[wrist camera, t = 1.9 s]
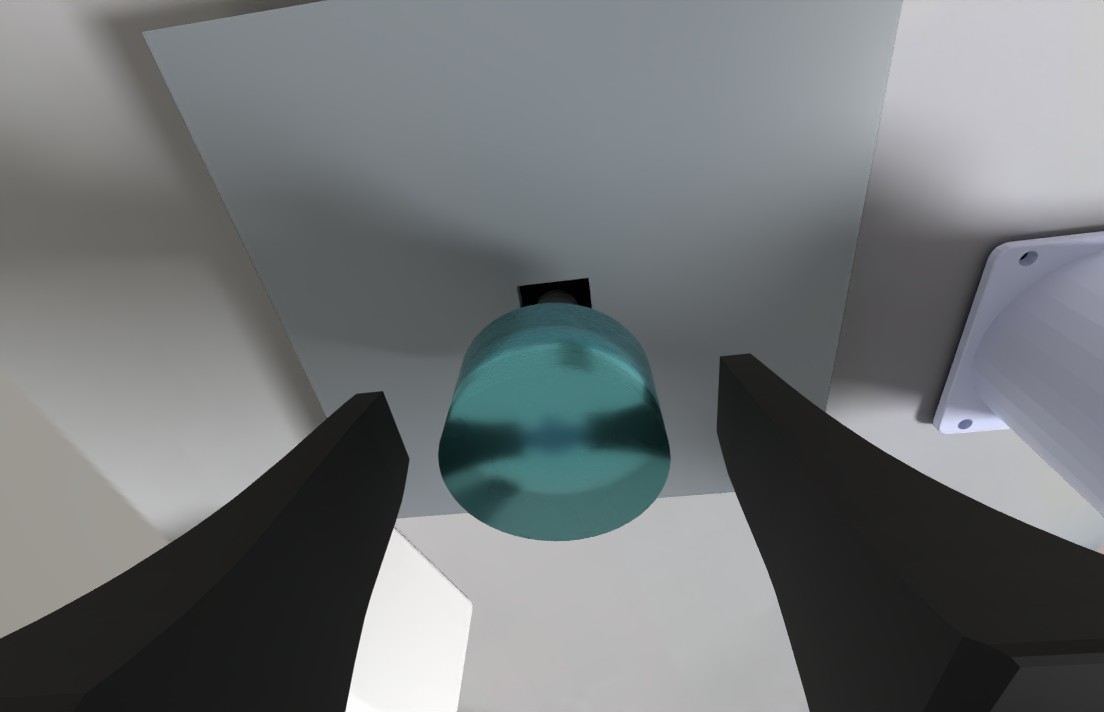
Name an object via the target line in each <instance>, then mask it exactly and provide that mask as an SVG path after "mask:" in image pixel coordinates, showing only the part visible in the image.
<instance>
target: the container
mask: <svg viewBox="0 0 1104 712" xmlns="http://www.w3.org/2000/svg"><path fill="white" fill-rule="evenodd" d="M472 608H473V607H472V603H471V601H470V600H469V599H468V598H467V597H466V596H465V595H464V594H462V593H461V592H460V591H459V590H458V589H457V588H456V587H455V586H454V585H453V584H452V583H451V582H450V581H449V580H448V579H447V578H446V577H445V576H444V575H443V574H442V573H441V572H440V571H439V570H438V569H437V568H435V567H434V566H433V565H432V564H431V563H430V562H429V561H428V560H427V559H426V558H425V557H424V556H423V555H422V554H421V553H420V552H419V551H418V550H417V549H416V548H415V547H414V546H413V545H412V544H411V543H410V542H408V541H407V540H406V539H405V538H404V537H403V536H402V535H401V534H400V533H399V532H398V531H397V530H396V529H395V528H393V531H392V535H391V538H390V541H389V544H388V547H387V550H386V553H385V556H384V559H383V562H382V565H381V568H380V571H379V574H378V577H377V580H376V583H375V586H374V589H373V592H372V595H371V598H370V602H369V605H368V609H367V612H366V616H365V620H364V624H363V629H362V633H361V638H360V642H359V647H358V651H357V656H356V660H355V665H354V670H353V675H352V680H351V686H350V691H349V696H348V701H347V706H346V711H345V712H457V707H458V701H459V694H460V688H461V681H462V674H463V668H464V661H465V654H466V648H467V641H468V634H469V628H470V621H471V614H472Z"/></svg>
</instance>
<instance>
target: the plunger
mask: <svg viewBox="0 0 1104 712" xmlns="http://www.w3.org/2000/svg"><path fill="white" fill-rule="evenodd" d="M670 460H671V455H670V446H669V442H668V438H667V433H666V429H665V425H664V421H663V417H662V413H661V408H660V404H659V400H658V396H657V392H656V388H655V383H654V379H653V375H652V371H651V367H650V364H649V360H648V357H647V355H646V353H645V351H644V349H643V347H642V346H641V344H640V343H639V341H638V340H637V338H636V337H635V336H634V335H633V334H632V333H631V332H630V331H629V330H628V329H627V328H626V327H624V326H623V325H622V324H621V323H619V322H618V321H616V320H615V319H613V318H611V317H610V316H608V315H606V314H604V313H601V312H599V311H597V310H594V309H591V308H588V307H584V306H580V305H577V302H576V300H575V298H574V297H573V296H572V295H571V294H569V293H568V292H565V291H562V290H552V291H549V292H547V293H545V294H544V295H542V296H541V297H540V299H539V300H538V303H537V304H536V305H530V306H526V307H523V308H519V309H516V310H513V311H511V312H509V313H507V314H504V315H502V316H501V317H499V318H497V319H496V320H494V321H492V322H491V323H490V324H489V325H487V326H486V327H485V328H484V329H483V330H482V331H481V332H480V333H479V334H478V335H477V336H476V337H475V338H474V340H473V341H472V343H471V344H470V346H469V347H468V349H467V351H466V353H465V355H464V358H463V361H462V365H461V368H460V372H459V375H458V379H457V382H456V386H455V389H454V393H453V397H452V400H451V404H450V407H449V411H448V414H447V418H446V421H445V425H444V428H443V432H442V436H441V439H440V443H439V450H438V461H439V468H440V472H441V476H442V478H443V481H444V483H445V485H446V487H447V489H448V490H449V492H450V493H451V495H452V496H453V498H454V499H455V500H456V501H457V502H458V503H459V505H460V506H462V507H463V508H464V509H465V510H466V511H467V512H468V513H470V514H471V515H472V516H474V517H475V518H477V519H478V520H480V521H481V522H483V523H485V524H487V525H489V526H490V527H493V528H495V529H497V530H500V531H502V532H505V533H508V534H511V535H514V536H519V537H523V538H528V539H535V540H544V541H569V540H578V539H584V538H589V537H594V536H597V535H601V534H604V533H607V532H610V531H612V530H614V529H617V528H619V527H621V526H623V525H625V524H627V523H629V522H630V521H632V520H633V519H635V518H636V517H638V516H639V515H640V514H642V513H643V512H644V511H645V510H646V509H647V508H648V507H649V506H650V505H651V504H652V503H653V502H654V501H655V500H656V498H657V497H658V495H659V494H660V492H661V491H662V489H663V487H664V485H665V483H666V480H667V478H668V474H669V470H670Z"/></svg>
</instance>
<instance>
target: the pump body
mask: <svg viewBox="0 0 1104 712" xmlns="http://www.w3.org/2000/svg"><path fill="white" fill-rule="evenodd" d="M902 2H903V0H325V1H319V2H313V3H307V4H302V5H296V6H290V7H284V8H278V9H272V10H266V11H261V12H255V13H249V14H243V15H237V16H231V17H226V18H220V19H214V20H208V21H202V22H196V23H190V24H185V25H179V26H173V27H167V28H161V29H155V30H150V31H144V32H142V35H143V37H144V39H145V41H146V43H147V45H148V47H149V49H150V51H151V53H152V55H153V57H154V59H155V62H156V64H157V66H158V68H159V70H160V72H161V74H162V76H163V78H164V80H165V82H166V84H167V87H168V89H169V91H170V93H171V95H172V97H173V99H174V101H175V103H176V105H177V107H178V109H179V111H180V114H181V116H182V118H183V120H184V122H185V124H186V126H187V128H188V130H189V132H190V134H191V136H192V139H193V141H194V143H195V145H196V147H197V149H198V151H199V153H200V155H201V157H202V159H203V161H204V164H205V166H206V168H207V170H208V172H209V174H210V176H211V178H212V180H213V182H214V184H215V186H216V188H217V191H218V193H219V195H220V197H221V199H222V201H223V203H224V205H225V207H226V209H227V211H228V213H229V216H230V218H231V220H232V222H233V224H234V226H235V228H236V230H237V232H238V234H239V236H240V238H241V241H242V243H243V245H244V247H245V249H246V251H247V253H248V255H249V257H250V259H251V261H252V263H253V265H254V268H255V270H256V272H257V274H258V276H259V278H260V280H261V282H262V284H263V286H264V288H265V290H266V293H267V295H268V297H269V299H270V301H271V303H272V305H273V307H274V309H275V311H276V313H277V315H278V317H279V320H280V322H281V324H282V326H283V328H284V330H285V332H286V334H287V336H288V338H289V340H290V342H291V345H292V347H293V349H294V351H295V353H296V355H297V357H298V359H299V361H300V363H301V365H302V367H303V370H304V372H305V374H306V376H307V378H308V380H309V382H310V384H311V386H312V388H313V390H314V392H315V394H316V397H317V399H318V401H319V403H320V405H321V407H322V409H323V411H324V413H325V415H326V417H327V418H328V417H329V416H330V415H332V414H333V413H334V412H335V411H336V410H337V409H338V408H339V407H341V406H342V405H343V404H344V403H345V402H346V401H348V400H349V399H350V398H351V397H353V396H354V395H355V394H358V393H368V392H378V391H383V392H384V395H385V397H386V400H387V402H388V405H389V407H390V410H391V413H392V415H393V418H394V420H395V423H396V425H397V428H398V430H399V433H400V436H401V438H402V441H403V443H404V446H405V448H406V451H407V453H408V456H409V459H410V460H409V466H408V472H407V479H406V484H405V489H404V494H403V499H402V503H401V506H400V510H399V513H398V516H397V518H408V517H421V516H433V515H446V514H459V513H468V512H467V511H466V510H465V509H464V508H463V507H462V506H460V505H459V503H458V502H457V501H456V500H455V499H454V498H453V496H452V495H451V493H450V492H449V490H448V489H447V487H446V485H445V483H444V481H443V478H442V476H441V472H440V468H439V461H438V450H439V443H440V439H441V436H442V432H443V428H444V425H445V421H446V418H447V414H448V411H449V407H450V404H451V400H452V397H453V393H454V389H455V386H456V382H457V379H458V375H459V372H460V368H461V365H462V361H463V358H464V355H465V353H466V351H467V349H468V347H469V346H470V344H471V343H472V341H473V340H474V338H475V337H476V336H477V335H478V334H479V333H480V332H481V331H482V330H483V329H484V328H485V327H486V326H487V325H489V324H490V323H491V322H492V321H494V320H496V319H497V318H499V317H501V316H502V315H504V314H507V313H509V312H511V311H513V310H516V309H519V308H523V304H522V298H521V293H520V288H519V286H522V285H531V284H539V283H548V282H557V281H565V280H574V279H582V278H589V285H590V295H591V304H592V309H594V310H597V311H599V312H601V313H604V314H606V315H608V316H610V317H611V318H613V319H615V320H616V321H618V322H619V323H621V324H622V325H623V326H624V327H626V328H627V329H628V330H629V331H630V332H631V333H632V334H633V335H634V336H635V337H636V338H637V340H638V341H639V343H640V344H641V346H642V347H643V349H644V351H645V353H646V355H647V357H648V360H649V364H650V367H651V371H652V375H653V379H654V383H655V388H656V392H657V396H658V400H659V404H660V408H661V413H662V417H663V421H664V425H665V429H666V433H667V438H668V442H669V446H670V455H671V460H670V470H669V474H668V478H667V480H666V483H665V485H664V487H663V489H662V491H661V492H660V494H659V495H658V497H657V498H663V497H676V496H688V495H701V494H714V493H727V492H735V490H734V488H733V485H732V483H731V480H730V478H729V475H728V473H727V469H726V465H725V462H724V458H723V455H722V451H721V447H720V443H719V439H718V435H717V431H716V430H717V408H718V386H719V364H720V356H728V355H738V354H748V353H751V354H752V355H753V356H754V357H756V358H757V359H758V360H759V361H761V362H762V363H763V364H764V365H765V366H767V367H768V368H769V369H770V370H772V371H773V372H774V373H775V374H776V375H778V376H779V377H780V378H781V379H783V380H784V381H785V382H786V383H788V384H789V385H790V386H791V387H793V388H794V389H795V390H796V391H798V392H799V393H800V394H802V395H803V396H804V397H805V398H807V399H808V400H809V401H811V402H812V403H813V404H815V405H816V406H817V407H819V408H820V409H821V410H823V411H824V412H825V409H826V404H827V399H828V394H829V388H830V383H831V378H832V372H833V367H834V362H835V356H836V351H837V346H838V341H839V335H840V330H841V325H842V319H843V314H844V309H845V303H846V298H847V293H848V288H849V282H850V277H851V272H852V266H853V261H854V256H855V251H856V245H857V240H858V235H859V229H860V224H861V219H862V213H863V208H864V203H865V198H866V192H867V187H868V182H869V176H870V171H871V166H872V161H873V155H874V150H875V145H876V139H877V134H878V129H879V123H880V118H881V113H882V108H883V102H884V97H885V92H886V86H887V81H888V76H889V70H890V65H891V60H892V55H893V49H894V44H895V39H896V33H897V28H898V23H899V18H900V12H901V7H902Z"/></svg>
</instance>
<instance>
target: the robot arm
mask: <svg viewBox="0 0 1104 712" xmlns="http://www.w3.org/2000/svg"><path fill="white" fill-rule="evenodd" d="M1027 252H1029V253H1028V254H1027V256H1026V257H1025V258H1024V259H1022V260H1020V258H1021V257H1022V256H1023V255H1024V254H1025V253H1027ZM933 425H934V427H935V428H936V429H937V430H938V431H939V432H940V433H942V434H954V433H966V432H978V431H990V430H1001V429H1012V430H1013V431H1014V432H1015V433H1016V434H1017V435H1018V436H1019V437H1020V438H1021V439H1022V440H1023V441H1024V442H1025V443H1026V444H1028V445H1029V446H1030V447H1031V448H1032V449H1033V450H1034V451H1035V452H1036V453H1037V454H1038V455H1039V456H1040V457H1041V458H1042V459H1043V460H1044V461H1045V462H1046V463H1048V464H1049V465H1050V466H1051V467H1052V468H1053V469H1054V470H1055V471H1056V472H1057V473H1058V474H1059V475H1060V476H1061V477H1062V478H1063V479H1064V480H1065V481H1066V482H1068V483H1069V484H1070V485H1071V486H1072V487H1073V488H1074V489H1075V490H1076V491H1077V492H1078V493H1079V494H1080V495H1081V496H1082V497H1083V498H1084V499H1085V500H1086V501H1088V502H1089V503H1090V504H1091V505H1092V506H1093V507H1094V508H1095V509H1096V510H1097V511H1098V512H1099V513H1100V514H1101V515H1102V516H1103V517H1104V231H1100V232H1092V233H1083V234H1074V235H1065V236H1057V237H1048V238H1039V239H1030V240H1022V241H1013V242H1007V243H1004V244H1001V245H1000V246H998V247H996V248H995V249H994V250H993V251H992V252H991V254H990V256H989V257H988V260H987V263H986V266H985V269H984V272H983V275H982V278H981V281H980V284H979V287H978V290H977V292H976V295H975V298H974V301H973V304H972V307H971V310H970V313H969V316H968V319H967V322H966V325H965V328H964V331H963V334H962V337H961V340H960V343H959V346H958V349H957V352H956V355H955V358H954V361H953V364H952V367H951V370H950V373H949V375H948V378H947V381H946V384H945V387H944V390H943V393H942V396H941V399H940V402H939V405H938V408H937V411H936V414H935V417H934V420H933ZM716 431H717V435H718V439H719V443H720V447H721V451H722V455H723V458H724V462H725V465H726V469H727V473H728V475H729V478H730V480H731V483H732V485H733V488H734V490H735V493H736V495H737V498H738V500H739V503H740V505H741V507H742V510H743V512H744V515H745V517H746V520H747V522H748V524H749V527H750V529H751V532H752V534H753V536H754V539H755V541H756V544H757V546H758V548H759V551H760V553H761V556H762V558H763V561H764V563H765V565H766V568H767V570H768V573H769V576H770V579H771V581H772V584H773V587H774V590H775V593H776V596H777V599H778V603H779V606H780V609H781V613H782V616H783V619H784V622H785V626H786V629H787V632H788V636H789V639H790V643H791V646H792V650H793V653H794V657H795V660H796V664H797V667H798V671H799V674H800V678H801V681H802V685H803V688H804V692H805V695H806V699H807V703H808V707H809V710H810V712H1104V554H1101V553H1098V552H1095V551H1093V550H1090V549H1087V548H1085V547H1082V546H1080V545H1077V544H1075V543H1072V542H1070V541H1068V540H1065V539H1063V538H1060V537H1058V536H1055V535H1053V534H1051V533H1048V532H1046V531H1043V530H1041V529H1038V528H1036V527H1034V526H1031V525H1029V524H1026V523H1024V522H1022V521H1020V520H1017V519H1015V518H1013V517H1011V516H1008V515H1006V514H1004V513H1002V512H999V511H997V510H995V509H993V508H991V507H988V506H986V505H984V504H982V503H980V502H978V501H976V500H974V499H972V498H970V497H968V496H966V495H964V494H962V493H960V492H958V491H955V490H953V489H951V488H949V487H947V486H945V485H943V484H942V483H940V482H938V481H936V480H934V479H932V478H930V477H928V476H926V475H924V474H923V473H921V472H919V471H917V470H916V469H914V468H912V467H910V466H909V465H907V464H905V463H903V462H902V461H900V460H898V459H896V458H894V457H893V456H891V455H889V454H887V453H886V452H884V451H883V450H881V449H879V448H878V447H876V446H874V445H873V444H871V443H870V442H868V441H867V440H865V439H864V438H862V437H861V436H859V435H858V434H856V433H855V432H853V431H852V430H850V429H849V428H847V427H846V426H844V425H843V424H841V423H840V422H838V421H837V420H835V419H834V418H833V417H831V416H830V415H828V414H827V413H826V412H824V411H823V410H821V409H820V408H819V407H817V406H816V405H815V404H813V403H812V402H811V401H809V400H808V399H807V398H805V397H804V396H803V395H802V394H800V393H799V392H798V391H796V390H795V389H794V388H793V387H791V386H790V385H789V384H788V383H786V382H785V381H784V380H783V379H781V378H780V377H779V376H778V375H776V374H775V373H774V372H773V371H772V370H770V369H769V368H768V367H767V366H765V365H764V364H763V363H762V362H761V361H759V360H758V359H757V358H756V357H754V356H753V355H752V354H751V353H748V354H738V355H728V356H720V364H719V386H718V408H717V430H716ZM409 460H410V459H409V456H408V453H407V451H406V448H405V446H404V443H403V441H402V438H401V436H400V433H399V430H398V428H397V425H396V423H395V420H394V418H393V415H392V413H391V410H390V407H389V405H388V402H387V400H386V397H385V395H384V392H383V391H378V392H368V393H358V394H355V395H354V396H353V397H351V398H350V399H349V400H348V401H346V402H345V403H344V404H343V405H342V406H341V407H339V408H338V409H337V410H336V411H335V412H334V413H333V414H332V415H330V416H329V417H328V418H327V419H326V420H325V421H324V422H323V423H322V424H320V425H319V426H318V427H317V428H316V429H315V430H314V431H313V432H312V433H310V434H309V435H308V436H307V437H306V438H305V439H304V440H303V441H301V442H300V443H299V444H298V445H297V446H296V447H295V448H294V449H293V450H291V451H290V452H289V453H288V454H287V455H286V456H285V457H284V458H282V459H281V460H280V461H279V462H278V463H276V464H275V465H274V466H273V467H272V468H270V469H269V470H268V471H267V472H266V473H264V474H263V475H262V476H261V477H260V478H258V479H257V480H256V481H255V482H253V483H252V484H251V485H250V486H249V487H247V488H246V489H245V490H244V491H243V492H241V493H240V494H239V495H238V496H236V497H235V498H234V499H232V500H231V501H230V502H228V503H227V504H226V505H224V506H223V507H222V508H220V509H219V510H218V511H216V512H215V513H214V514H212V515H211V516H209V517H208V518H207V519H205V520H204V521H202V522H201V523H200V524H198V525H197V526H195V527H194V528H193V529H191V530H190V531H188V532H187V533H185V534H184V535H182V536H181V537H179V538H178V539H176V540H174V541H173V542H171V543H170V544H168V545H167V546H165V547H164V548H162V549H160V550H159V551H157V552H156V553H154V554H152V555H151V556H149V557H148V558H146V559H145V560H143V561H141V562H140V563H138V564H137V565H135V566H134V567H132V568H130V569H129V570H127V571H125V572H124V573H122V574H120V575H119V576H117V577H115V578H114V579H112V580H110V581H109V582H107V583H105V584H103V585H101V586H100V587H98V588H96V589H94V590H93V591H91V592H89V593H87V594H86V595H84V596H82V597H80V598H78V599H76V600H74V601H73V602H71V603H69V604H67V605H65V606H63V607H62V608H60V609H58V610H56V611H54V612H52V613H51V614H49V615H47V616H45V617H43V618H41V619H39V620H37V621H35V622H33V623H31V624H29V625H27V626H25V627H23V628H21V629H19V630H17V631H15V632H13V633H11V634H9V635H7V636H5V637H3V638H1V639H0V712H345V711H346V706H347V701H348V696H349V691H350V686H351V680H352V675H353V670H354V665H355V660H356V656H357V651H358V647H359V642H360V638H361V633H362V629H363V624H364V620H365V616H366V612H367V609H368V605H369V602H370V598H371V595H372V592H373V589H374V586H375V583H376V580H377V577H378V574H379V571H380V568H381V565H382V562H383V559H384V556H385V553H386V550H387V547H388V544H389V541H390V538H391V535H392V531H393V528H394V525H395V522H396V519H397V516H398V513H399V510H400V506H401V503H402V499H403V494H404V489H405V484H406V479H407V472H408V466H409Z"/></svg>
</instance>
